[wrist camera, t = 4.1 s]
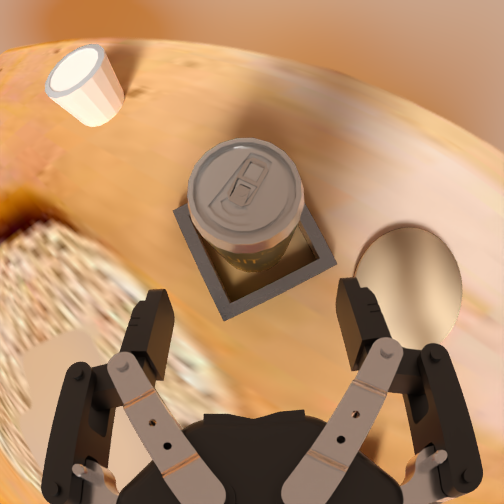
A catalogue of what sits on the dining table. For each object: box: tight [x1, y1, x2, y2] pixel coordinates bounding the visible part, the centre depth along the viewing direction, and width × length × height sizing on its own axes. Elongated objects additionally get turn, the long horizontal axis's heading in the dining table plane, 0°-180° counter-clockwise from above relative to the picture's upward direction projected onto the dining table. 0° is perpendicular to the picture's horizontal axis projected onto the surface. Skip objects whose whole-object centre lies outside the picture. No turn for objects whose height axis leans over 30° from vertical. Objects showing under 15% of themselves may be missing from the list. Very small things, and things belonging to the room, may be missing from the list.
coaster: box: [354, 228, 462, 350], centre depth 23 cm, size 11×11×1 cm
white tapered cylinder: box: [45, 44, 125, 127], centre depth 24 cm, size 7×7×7 cm
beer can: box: [187, 138, 304, 272], centre depth 19 cm, size 5×5×12 cm
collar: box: [173, 202, 337, 321], centre depth 24 cm, size 10×10×2 cm
